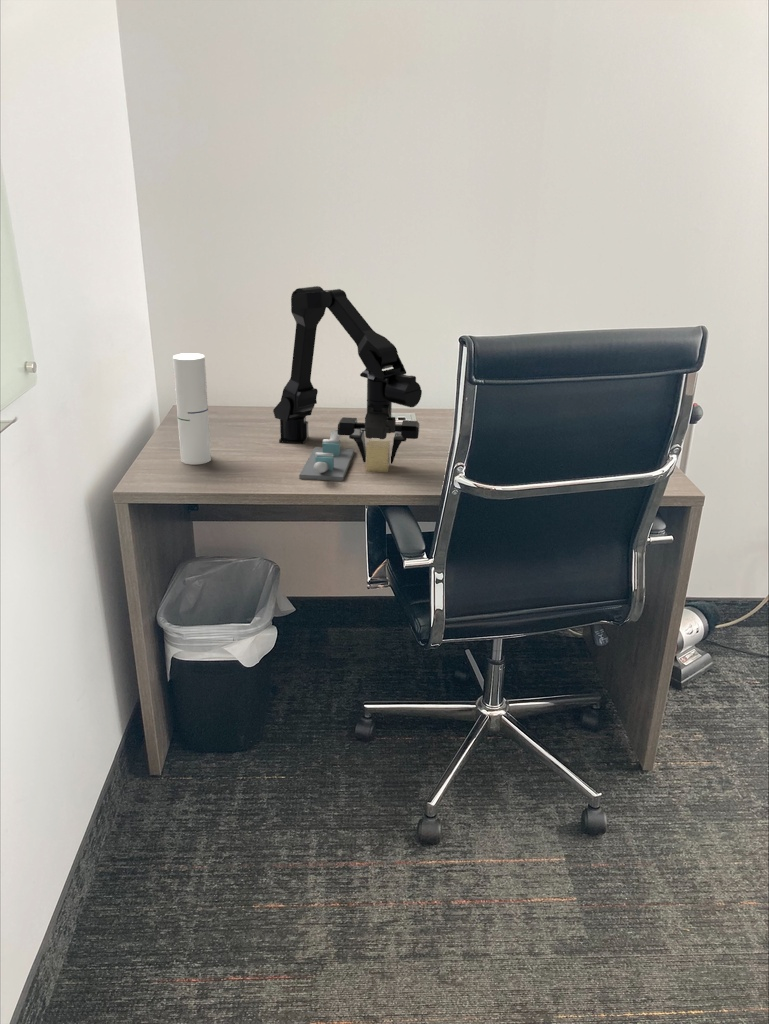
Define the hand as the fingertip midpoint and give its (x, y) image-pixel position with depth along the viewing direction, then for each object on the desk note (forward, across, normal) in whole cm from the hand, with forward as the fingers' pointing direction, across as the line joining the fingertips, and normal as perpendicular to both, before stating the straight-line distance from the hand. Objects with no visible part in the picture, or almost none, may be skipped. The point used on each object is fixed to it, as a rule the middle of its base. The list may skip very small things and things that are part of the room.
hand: (378, 462), depth 192 cm
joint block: (+1, 0, 0) cm, 1 cm away
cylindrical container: (+2, -44, -1) cm, 44 cm away
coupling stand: (+1, -12, 0) cm, 12 cm away
